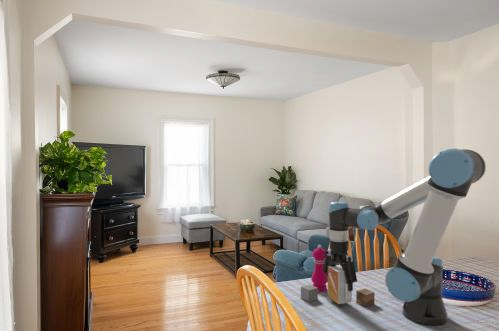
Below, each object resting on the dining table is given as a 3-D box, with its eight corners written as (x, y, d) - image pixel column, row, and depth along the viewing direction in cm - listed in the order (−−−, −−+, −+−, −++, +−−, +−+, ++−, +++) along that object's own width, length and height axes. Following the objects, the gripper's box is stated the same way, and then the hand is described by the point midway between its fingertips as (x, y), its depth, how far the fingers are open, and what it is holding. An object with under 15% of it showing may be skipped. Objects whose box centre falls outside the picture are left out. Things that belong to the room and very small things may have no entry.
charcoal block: (317, 299, 152) (317, 287, 152) (308, 302, 149) (308, 290, 149) (309, 295, 156) (309, 284, 156) (300, 298, 153) (300, 286, 153)
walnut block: (374, 304, 147) (374, 292, 147) (366, 307, 144) (366, 294, 144) (364, 300, 151) (364, 288, 151) (356, 302, 148) (356, 290, 148)
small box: (327, 297, 150) (327, 266, 150) (341, 295, 152) (340, 264, 152) (338, 304, 142) (337, 271, 142) (352, 302, 144) (351, 270, 144)
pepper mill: (326, 286, 167) (326, 243, 167) (328, 292, 160) (328, 247, 159) (310, 285, 168) (310, 243, 167) (312, 291, 161) (312, 246, 160)
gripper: (366, 243, 140) (367, 301, 140) (326, 234, 158) (327, 285, 159) (353, 246, 136) (353, 305, 136) (313, 236, 154) (314, 288, 155)
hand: (339, 294), depth 147 cm, fingers closed on small box, 9 cm apart
